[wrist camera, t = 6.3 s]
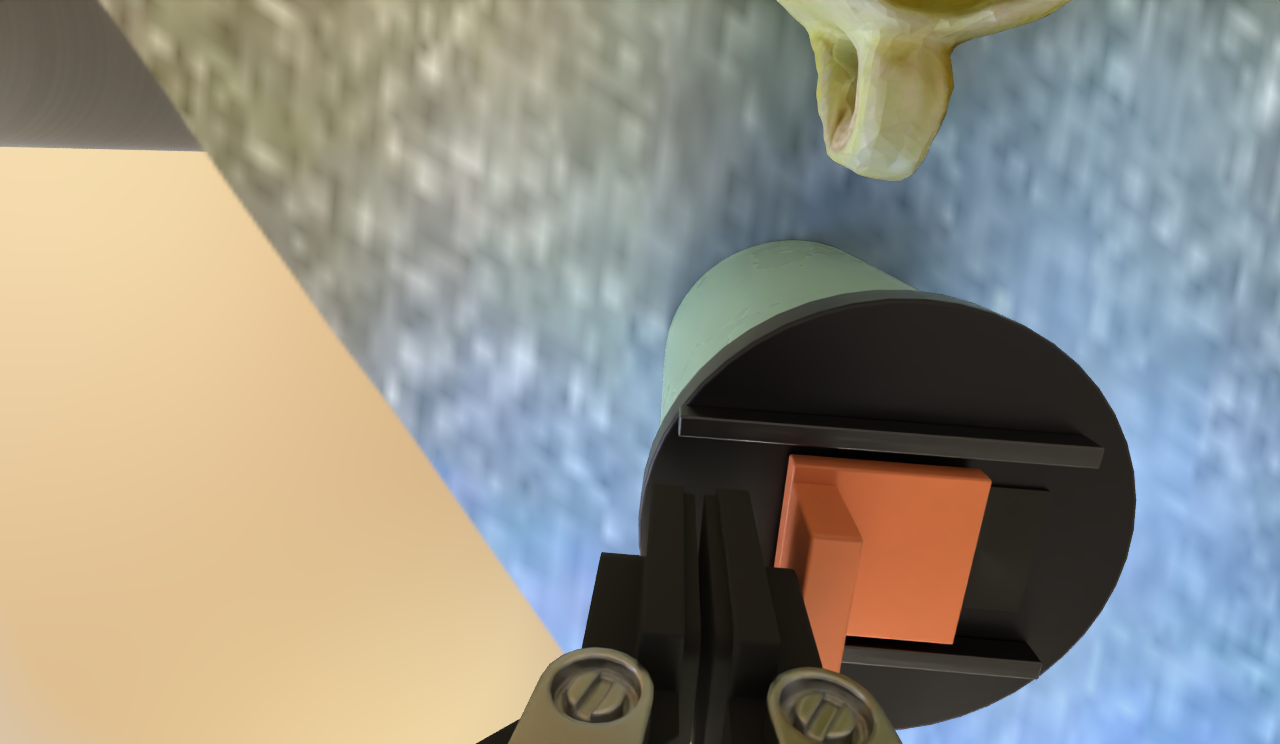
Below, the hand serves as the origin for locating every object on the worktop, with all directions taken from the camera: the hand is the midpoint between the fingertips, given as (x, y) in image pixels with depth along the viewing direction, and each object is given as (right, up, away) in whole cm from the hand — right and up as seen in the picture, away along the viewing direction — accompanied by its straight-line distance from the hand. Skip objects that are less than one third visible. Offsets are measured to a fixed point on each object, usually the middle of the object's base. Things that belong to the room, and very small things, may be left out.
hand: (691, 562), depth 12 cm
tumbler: (+4, +4, +13) cm, 14 cm away
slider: (+3, 0, +1) cm, 4 cm away
